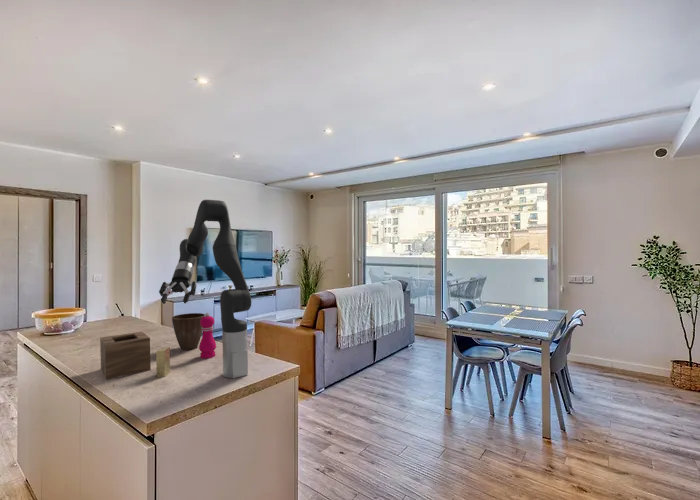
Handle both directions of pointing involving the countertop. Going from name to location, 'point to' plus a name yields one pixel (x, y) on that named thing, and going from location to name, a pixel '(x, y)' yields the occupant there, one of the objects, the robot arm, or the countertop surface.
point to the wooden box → (125, 354)
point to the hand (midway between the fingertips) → (174, 302)
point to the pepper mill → (207, 337)
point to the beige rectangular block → (163, 361)
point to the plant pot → (188, 330)
